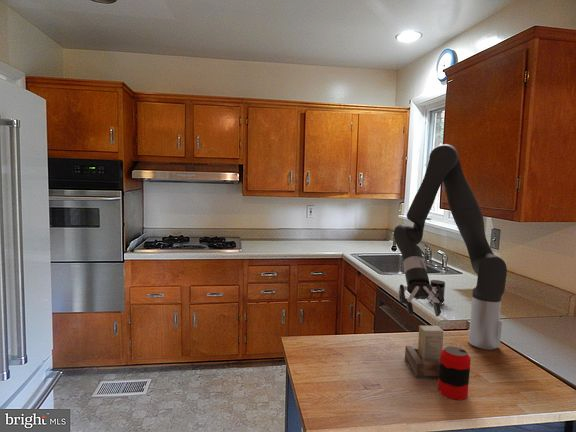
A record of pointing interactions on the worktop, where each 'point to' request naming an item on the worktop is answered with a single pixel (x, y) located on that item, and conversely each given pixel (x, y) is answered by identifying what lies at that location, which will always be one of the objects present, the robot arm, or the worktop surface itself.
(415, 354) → the walnut holder block
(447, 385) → the soda can
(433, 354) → the skincare box
